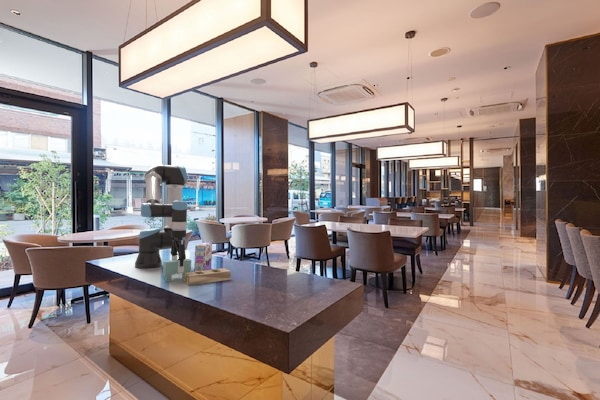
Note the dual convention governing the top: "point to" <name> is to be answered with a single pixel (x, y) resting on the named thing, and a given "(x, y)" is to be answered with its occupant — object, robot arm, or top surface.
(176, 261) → the green arch block
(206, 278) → the wooden block with holes
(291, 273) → the top surface
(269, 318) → the top surface
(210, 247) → the candy box
